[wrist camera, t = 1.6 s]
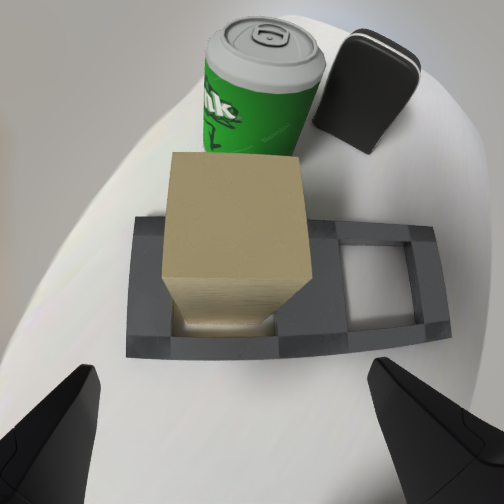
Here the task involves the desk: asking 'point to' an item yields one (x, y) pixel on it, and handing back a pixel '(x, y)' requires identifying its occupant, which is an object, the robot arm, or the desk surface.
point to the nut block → (234, 236)
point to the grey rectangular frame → (290, 300)
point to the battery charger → (366, 89)
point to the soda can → (259, 86)
